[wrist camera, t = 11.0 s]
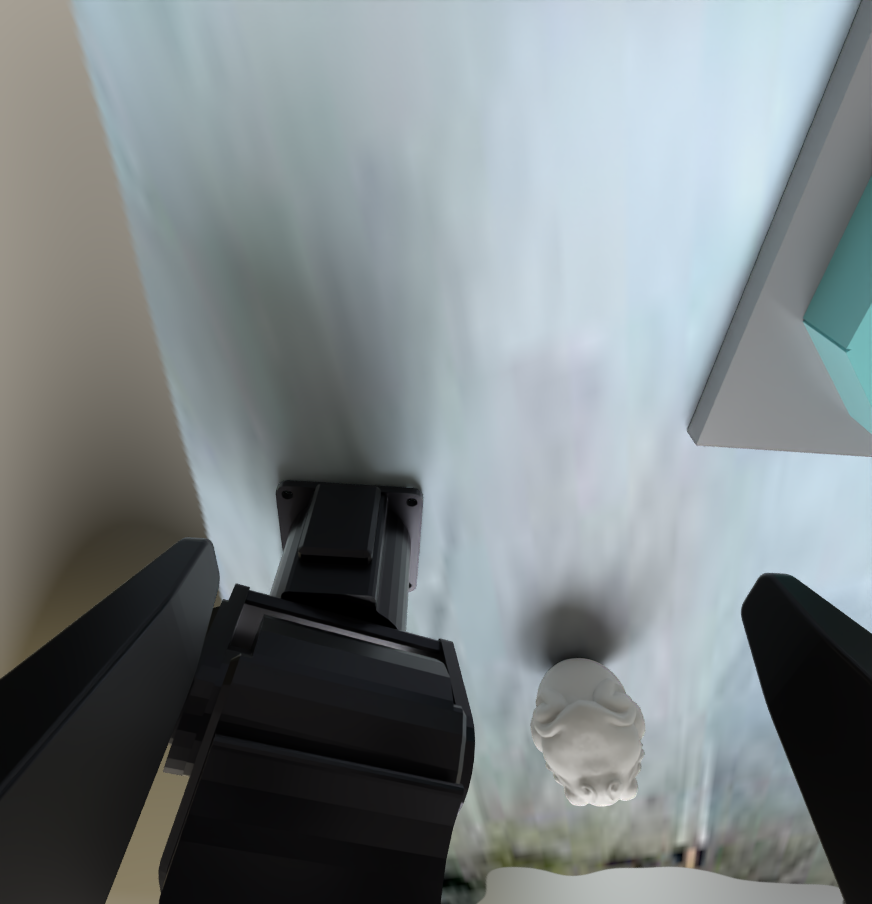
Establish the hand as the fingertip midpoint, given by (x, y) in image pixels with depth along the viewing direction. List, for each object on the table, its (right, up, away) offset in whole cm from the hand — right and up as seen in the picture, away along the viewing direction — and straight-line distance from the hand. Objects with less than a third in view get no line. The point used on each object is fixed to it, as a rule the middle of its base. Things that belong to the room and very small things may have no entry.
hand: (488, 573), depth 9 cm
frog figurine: (+7, -11, +24) cm, 27 cm away
